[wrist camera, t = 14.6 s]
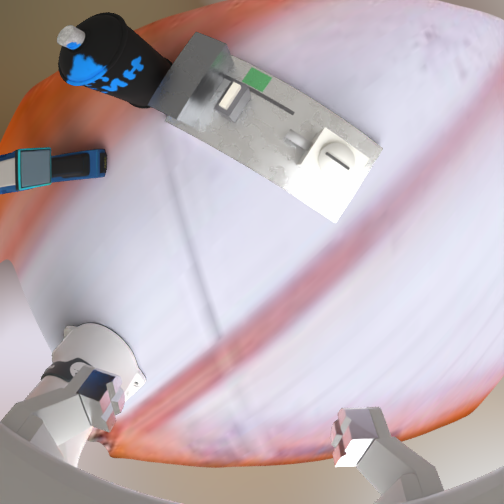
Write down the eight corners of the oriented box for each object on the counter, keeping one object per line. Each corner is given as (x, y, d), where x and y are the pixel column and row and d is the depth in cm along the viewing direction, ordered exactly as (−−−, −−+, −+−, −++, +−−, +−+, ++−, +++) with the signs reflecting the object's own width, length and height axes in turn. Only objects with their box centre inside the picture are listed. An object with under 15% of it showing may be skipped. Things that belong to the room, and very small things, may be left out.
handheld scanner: (120, 178, 38) (23, 191, 19) (44, 185, 39) (-45, 203, 20) (120, 147, 37) (23, 141, 18) (44, 158, 38) (-46, 166, 19)
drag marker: (251, 96, 32) (247, 83, 26) (234, 122, 33) (227, 114, 28) (237, 89, 32) (231, 75, 26) (220, 115, 33) (211, 106, 27)
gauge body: (356, 159, 34) (371, 158, 28) (336, 191, 35) (348, 196, 30) (297, 118, 33) (302, 110, 27) (275, 151, 34) (277, 148, 29)
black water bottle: (122, 67, 33) (35, 23, 14) (173, 49, 32) (106, -19, 13) (127, 115, 35) (31, 93, 16) (180, 99, 34) (105, 51, 15)
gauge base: (379, 149, 35) (406, 146, 27) (332, 221, 38) (349, 236, 30) (214, 50, 32) (201, 25, 24) (168, 122, 35) (142, 112, 27)
